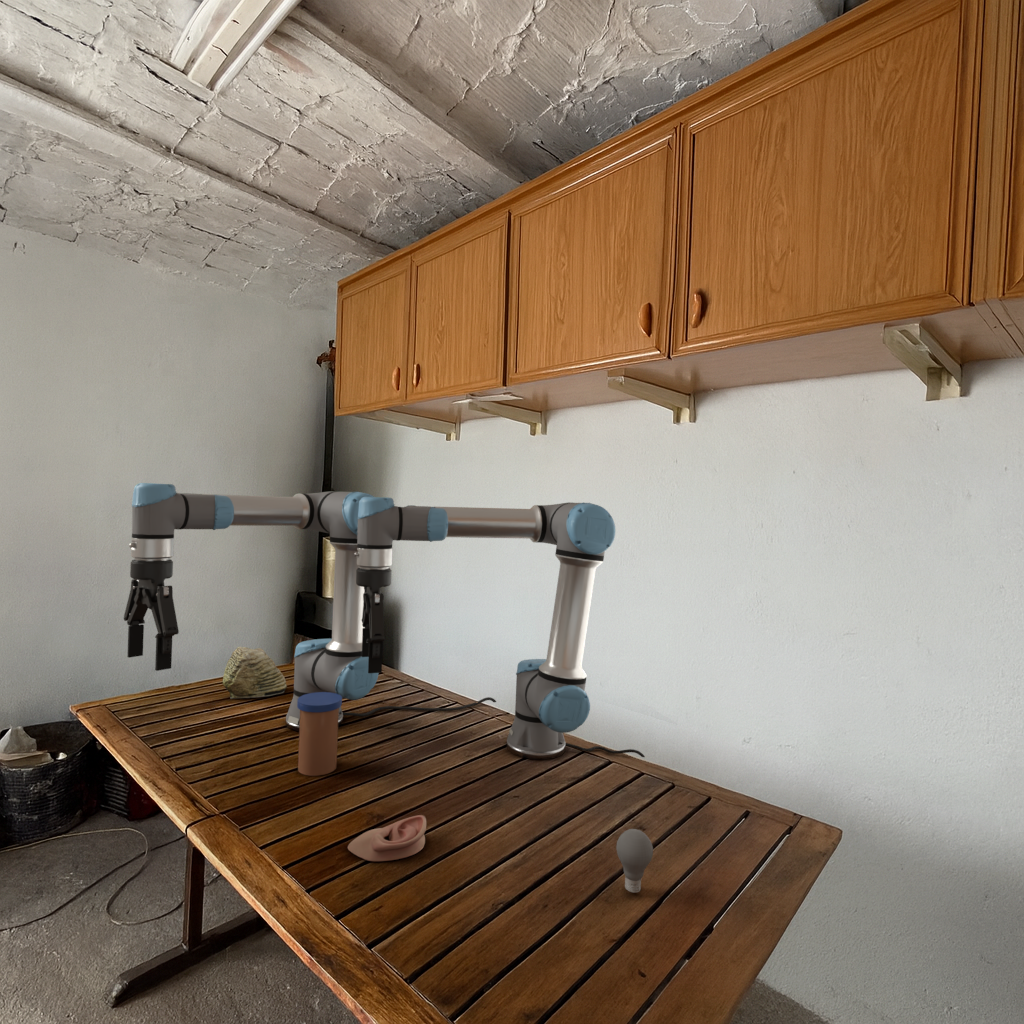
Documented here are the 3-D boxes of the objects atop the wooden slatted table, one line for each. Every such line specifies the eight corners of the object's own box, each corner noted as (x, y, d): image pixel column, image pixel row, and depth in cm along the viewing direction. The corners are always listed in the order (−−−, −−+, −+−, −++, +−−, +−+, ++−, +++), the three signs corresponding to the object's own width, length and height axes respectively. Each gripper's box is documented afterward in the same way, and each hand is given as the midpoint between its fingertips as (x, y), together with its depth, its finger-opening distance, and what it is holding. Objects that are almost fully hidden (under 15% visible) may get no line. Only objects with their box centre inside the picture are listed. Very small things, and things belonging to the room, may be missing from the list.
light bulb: (610, 879, 108) (613, 822, 108) (644, 879, 109) (647, 822, 109) (619, 902, 102) (622, 840, 102) (655, 901, 103) (658, 840, 103)
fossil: (218, 695, 195) (220, 647, 195) (278, 685, 208) (279, 640, 207) (228, 703, 189) (230, 653, 188) (289, 692, 201) (290, 645, 201)
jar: (316, 779, 142) (319, 709, 142) (289, 769, 146) (292, 701, 146) (344, 765, 149) (347, 699, 149) (317, 757, 154) (320, 692, 153)
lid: (319, 715, 141) (319, 708, 141) (287, 706, 146) (288, 699, 146) (350, 703, 149) (351, 697, 149) (320, 695, 154) (320, 689, 154)
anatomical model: (340, 834, 112) (368, 804, 123) (339, 856, 112) (367, 824, 123) (411, 845, 109) (433, 813, 120) (410, 868, 109) (432, 834, 120)
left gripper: (108, 554, 134) (104, 654, 134) (159, 565, 118) (155, 678, 119) (146, 552, 140) (143, 648, 140) (199, 563, 124) (195, 671, 124)
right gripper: (351, 561, 149) (349, 651, 149) (362, 574, 125) (359, 681, 126) (384, 561, 151) (381, 649, 152) (400, 574, 128) (397, 679, 128)
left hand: (148, 662), depth 129 cm, fingers open, 13 cm apart
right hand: (371, 664), depth 139 cm, fingers open, 13 cm apart
